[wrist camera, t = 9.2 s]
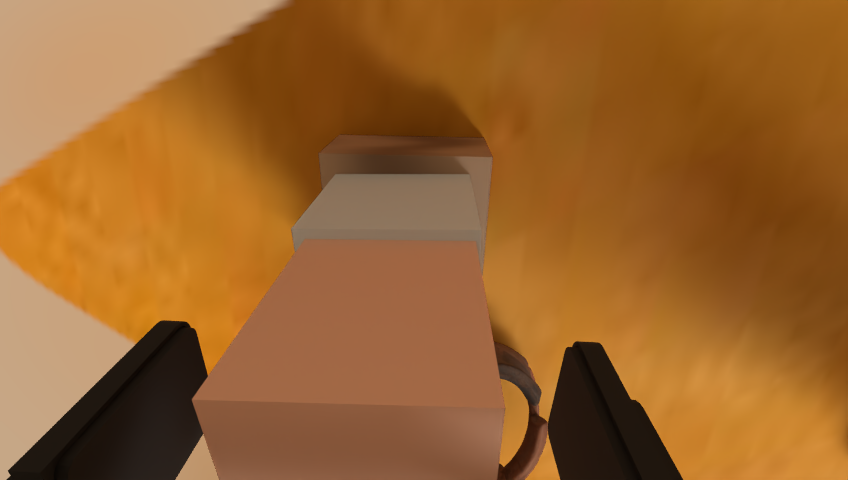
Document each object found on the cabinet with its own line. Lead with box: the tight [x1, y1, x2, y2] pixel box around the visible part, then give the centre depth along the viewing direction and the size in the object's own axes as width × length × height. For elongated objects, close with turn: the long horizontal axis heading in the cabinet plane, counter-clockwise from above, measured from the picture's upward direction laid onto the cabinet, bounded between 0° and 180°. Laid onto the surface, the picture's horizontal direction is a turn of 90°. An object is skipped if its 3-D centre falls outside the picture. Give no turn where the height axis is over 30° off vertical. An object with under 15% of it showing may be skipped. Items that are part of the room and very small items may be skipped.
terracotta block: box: [192, 239, 505, 480], centre depth 10 cm, size 5×5×6 cm
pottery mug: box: [494, 342, 548, 480], centre depth 25 cm, size 12×10×8 cm
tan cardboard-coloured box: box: [318, 135, 493, 275], centre depth 20 cm, size 7×7×4 cm
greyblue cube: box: [291, 174, 482, 261], centre depth 15 cm, size 6×6×6 cm
